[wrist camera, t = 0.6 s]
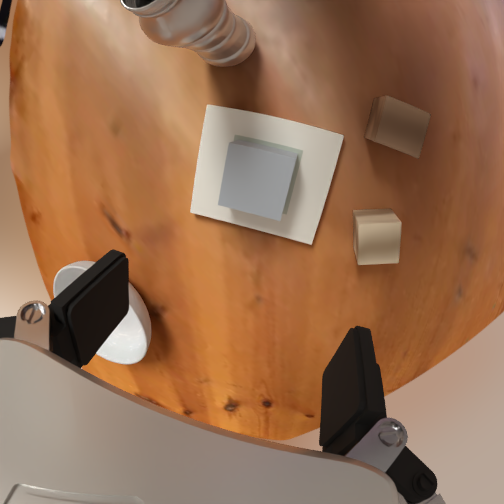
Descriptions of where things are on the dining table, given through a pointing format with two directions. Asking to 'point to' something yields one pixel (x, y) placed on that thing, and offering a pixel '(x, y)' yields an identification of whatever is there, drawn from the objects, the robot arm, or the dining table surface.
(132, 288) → the serving bowl
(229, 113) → the board
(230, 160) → the base block
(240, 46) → the plastic bottle
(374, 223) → the birch block
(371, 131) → the walnut block
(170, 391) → the dining table surface
